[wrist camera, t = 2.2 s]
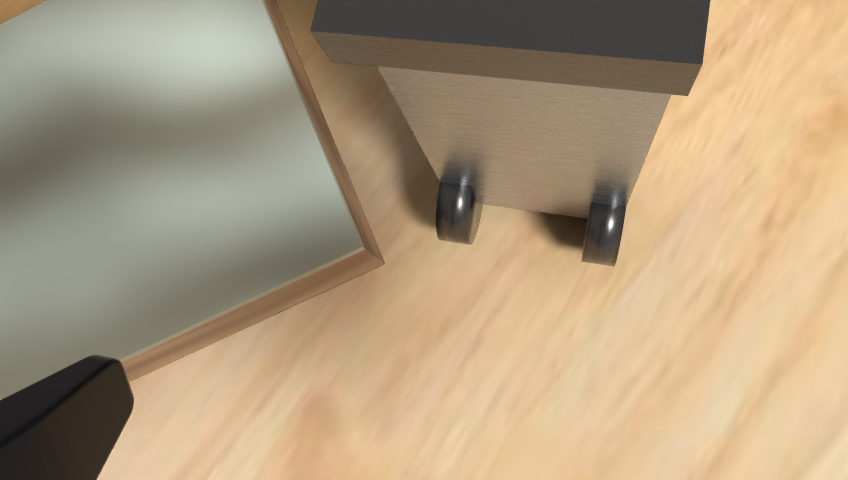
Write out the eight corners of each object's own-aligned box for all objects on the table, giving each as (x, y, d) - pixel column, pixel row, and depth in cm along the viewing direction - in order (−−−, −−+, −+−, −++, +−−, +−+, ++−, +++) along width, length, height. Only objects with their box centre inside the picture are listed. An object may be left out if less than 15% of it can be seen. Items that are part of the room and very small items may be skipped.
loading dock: (384, 263, 24) (361, 246, 21) (67, 410, 25) (4, 413, 22) (258, -42, 28) (224, -93, 25) (-13, 96, 29) (-76, 63, 26)
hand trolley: (610, 273, 22) (697, 99, 9) (446, 248, 24) (303, 61, 10) (639, 65, 24) (754, -362, 10) (482, 51, 25) (400, -346, 11)
